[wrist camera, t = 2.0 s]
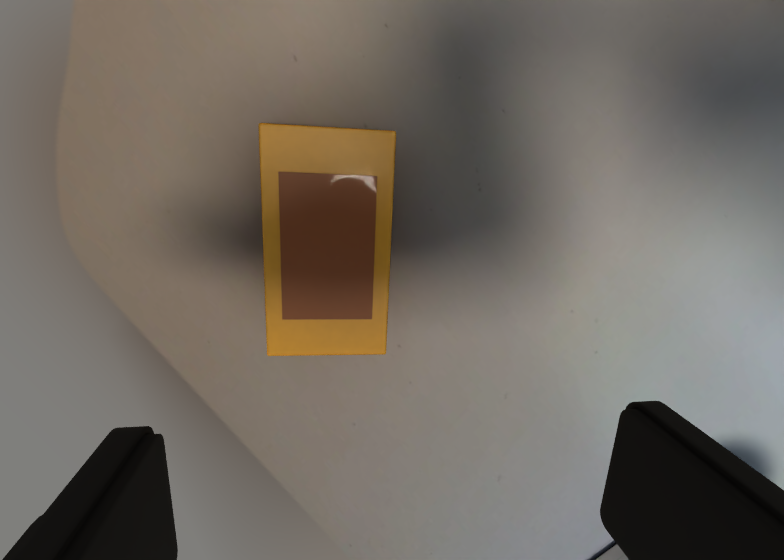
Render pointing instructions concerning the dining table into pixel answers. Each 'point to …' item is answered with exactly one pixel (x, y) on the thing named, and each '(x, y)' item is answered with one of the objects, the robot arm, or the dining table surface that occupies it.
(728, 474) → the robot arm
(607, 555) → the ink cartridge box
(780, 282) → the dining table surface
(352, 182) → the packet
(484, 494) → the dining table surface
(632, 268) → the dining table surface
